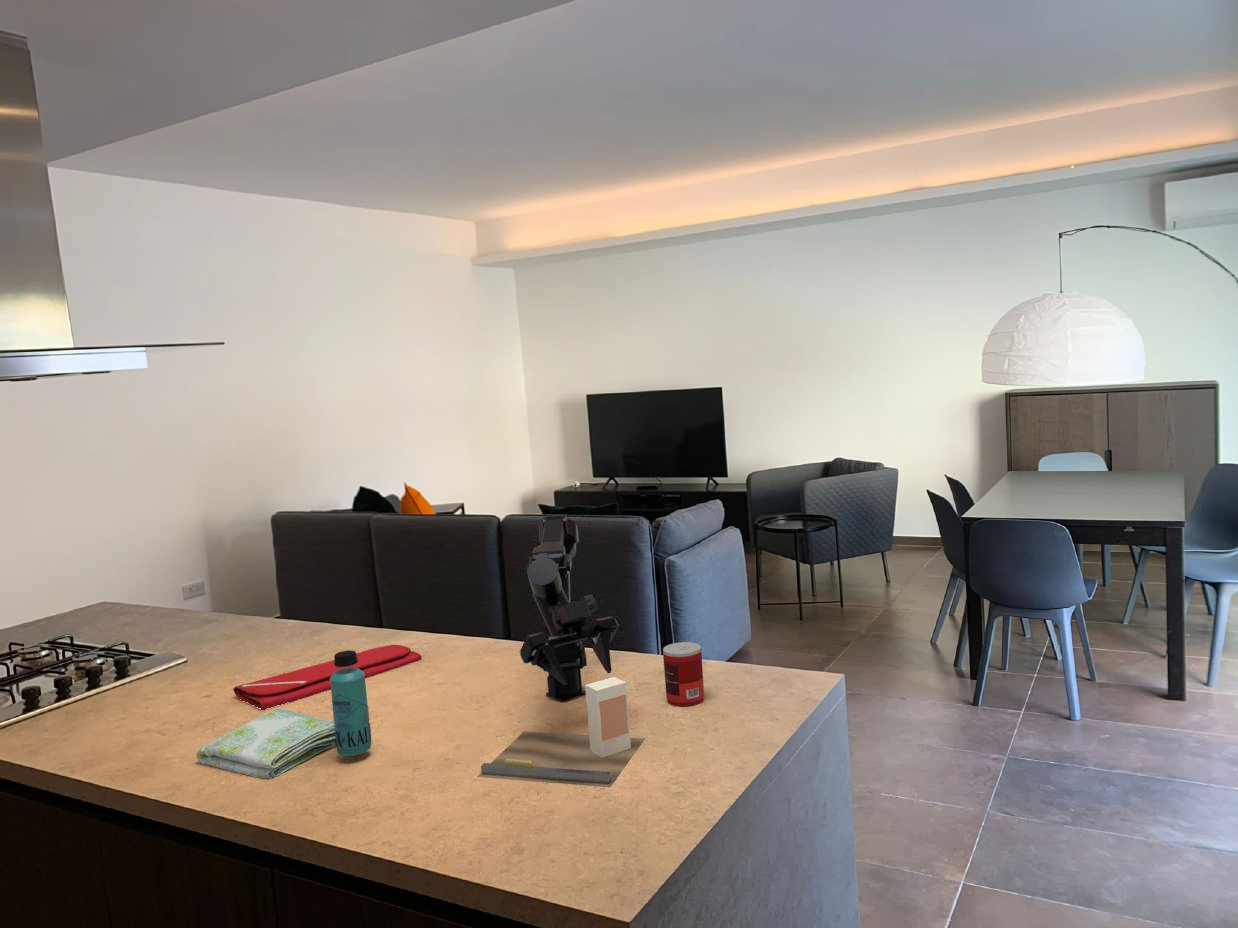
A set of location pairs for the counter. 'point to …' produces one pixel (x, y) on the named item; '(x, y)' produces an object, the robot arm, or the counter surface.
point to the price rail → (544, 772)
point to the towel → (269, 744)
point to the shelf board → (564, 755)
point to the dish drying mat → (320, 677)
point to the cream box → (608, 716)
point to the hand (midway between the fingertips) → (588, 677)
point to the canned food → (683, 674)
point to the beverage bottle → (350, 706)
